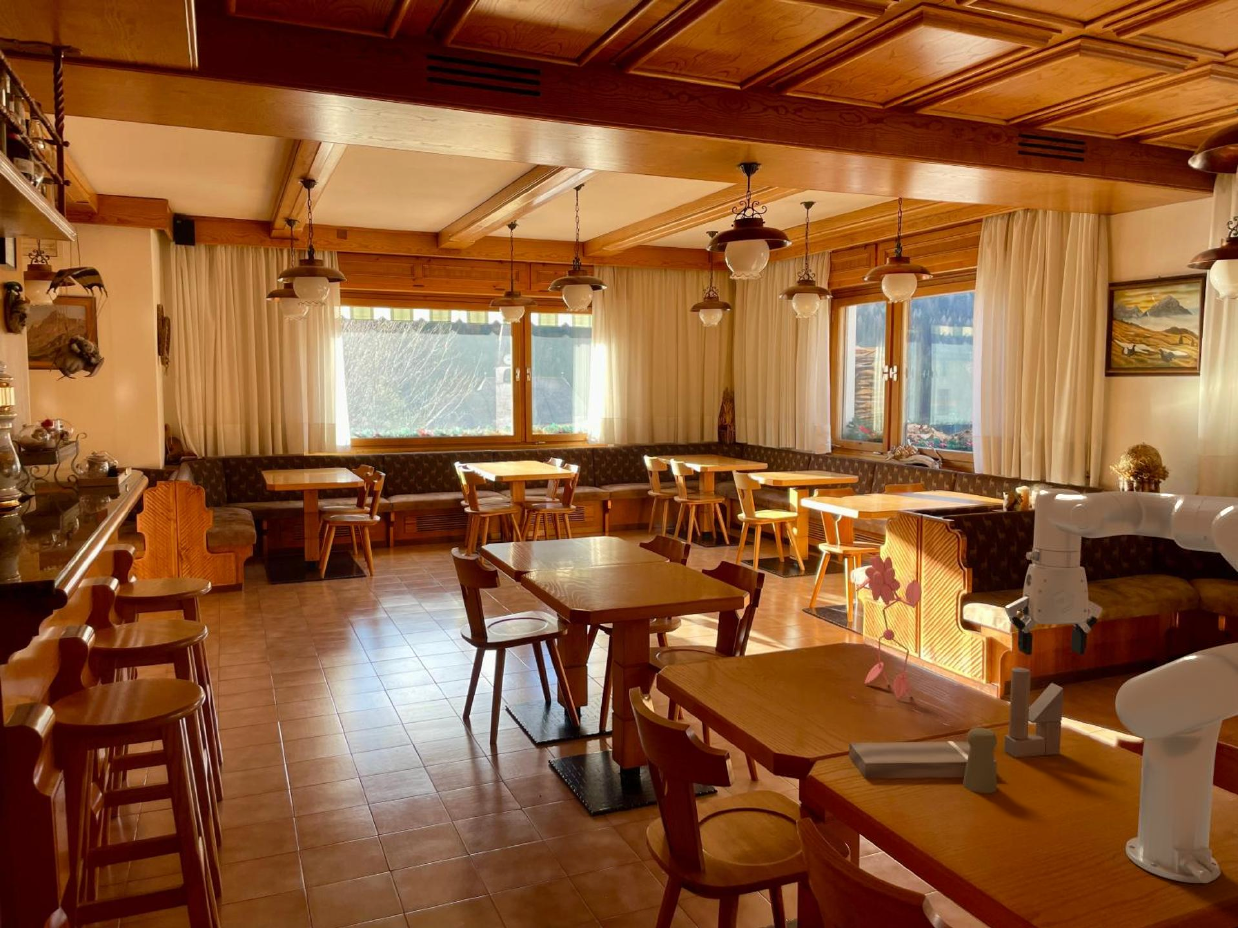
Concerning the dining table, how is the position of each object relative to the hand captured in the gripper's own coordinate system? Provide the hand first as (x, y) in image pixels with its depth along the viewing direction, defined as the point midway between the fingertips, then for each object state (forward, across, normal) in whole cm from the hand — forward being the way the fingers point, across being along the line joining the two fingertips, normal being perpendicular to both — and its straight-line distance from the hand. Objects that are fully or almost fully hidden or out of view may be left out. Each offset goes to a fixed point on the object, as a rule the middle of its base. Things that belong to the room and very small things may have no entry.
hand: (1051, 652), depth 158 cm
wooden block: (+28, +10, +23) cm, 38 cm away
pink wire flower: (+28, -10, +60) cm, 67 cm away
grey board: (+28, -16, +17) cm, 37 cm away
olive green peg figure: (+28, -8, +8) cm, 31 cm away
